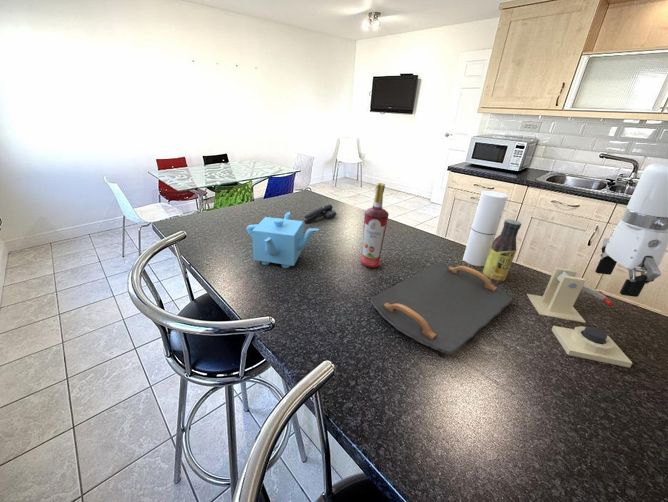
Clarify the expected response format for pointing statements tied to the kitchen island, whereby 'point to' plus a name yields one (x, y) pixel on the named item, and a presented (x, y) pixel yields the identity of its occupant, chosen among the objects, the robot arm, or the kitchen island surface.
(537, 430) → the kitchen island surface
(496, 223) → the cylindrical container
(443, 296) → the serving tray
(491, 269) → the sauce bottle
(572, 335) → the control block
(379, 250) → the liquor
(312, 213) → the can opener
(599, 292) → the red tipped lever
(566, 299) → the cream upright bracket stand
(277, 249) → the teakettle
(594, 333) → the dark round button
